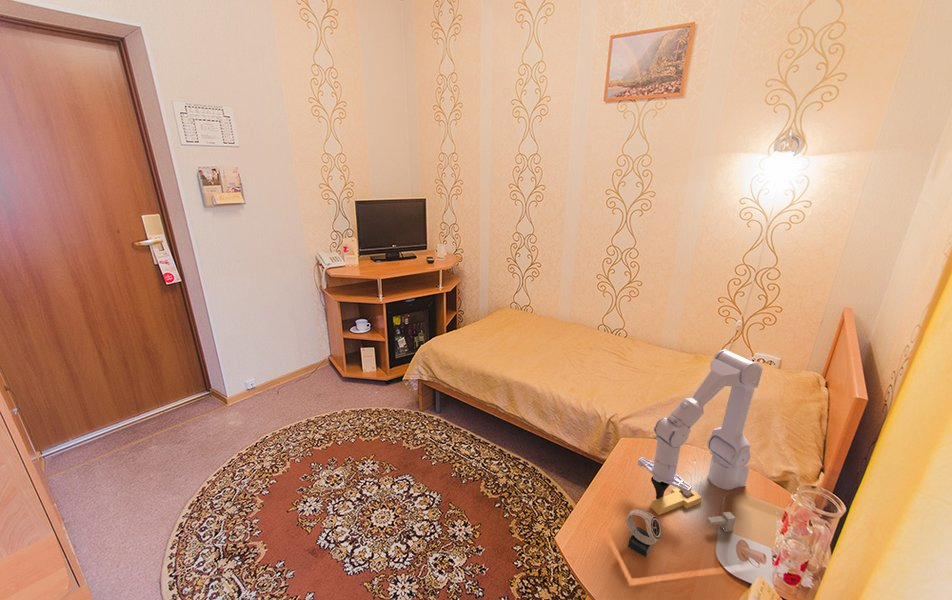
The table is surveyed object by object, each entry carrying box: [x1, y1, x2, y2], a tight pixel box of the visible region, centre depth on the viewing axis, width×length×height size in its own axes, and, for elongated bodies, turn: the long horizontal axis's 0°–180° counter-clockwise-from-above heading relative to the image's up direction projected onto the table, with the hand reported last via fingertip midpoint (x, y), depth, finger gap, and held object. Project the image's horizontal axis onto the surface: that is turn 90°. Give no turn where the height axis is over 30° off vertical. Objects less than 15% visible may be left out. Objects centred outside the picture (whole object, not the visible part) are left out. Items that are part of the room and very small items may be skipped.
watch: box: [626, 507, 662, 557], centre depth 97 cm, size 6×8×11 cm
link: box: [650, 487, 702, 516], centre depth 110 cm, size 14×5×2 cm, turn 111°
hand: (659, 498), depth 111 cm, fingers closed, pressing on link
